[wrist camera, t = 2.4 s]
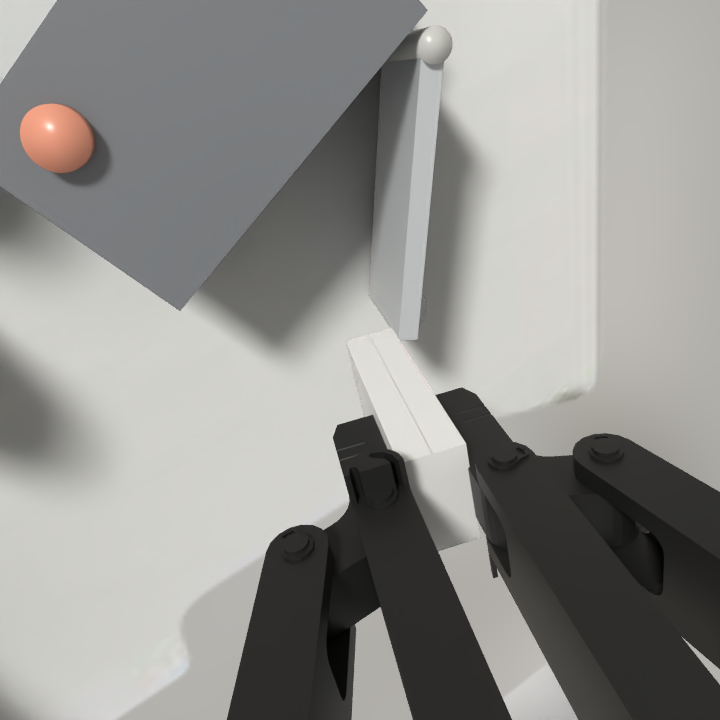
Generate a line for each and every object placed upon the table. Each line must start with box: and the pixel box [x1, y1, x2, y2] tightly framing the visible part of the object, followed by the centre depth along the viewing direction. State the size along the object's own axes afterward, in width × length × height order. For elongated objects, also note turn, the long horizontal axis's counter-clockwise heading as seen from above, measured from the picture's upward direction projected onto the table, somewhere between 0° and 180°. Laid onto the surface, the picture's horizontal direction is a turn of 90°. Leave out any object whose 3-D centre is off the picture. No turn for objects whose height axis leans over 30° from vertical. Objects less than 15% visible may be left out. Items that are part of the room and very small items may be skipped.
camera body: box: [0, 0, 428, 311], centre depth 26 cm, size 18×10×9 cm, turn 137°
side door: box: [369, 26, 452, 340], centre depth 30 cm, size 14×2×7 cm, turn 177°
